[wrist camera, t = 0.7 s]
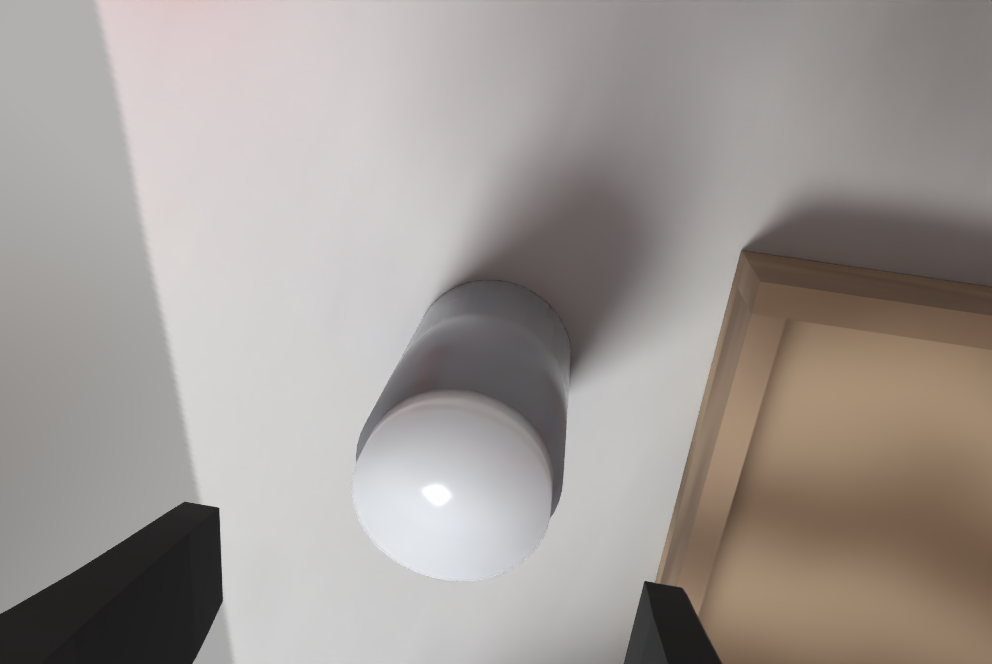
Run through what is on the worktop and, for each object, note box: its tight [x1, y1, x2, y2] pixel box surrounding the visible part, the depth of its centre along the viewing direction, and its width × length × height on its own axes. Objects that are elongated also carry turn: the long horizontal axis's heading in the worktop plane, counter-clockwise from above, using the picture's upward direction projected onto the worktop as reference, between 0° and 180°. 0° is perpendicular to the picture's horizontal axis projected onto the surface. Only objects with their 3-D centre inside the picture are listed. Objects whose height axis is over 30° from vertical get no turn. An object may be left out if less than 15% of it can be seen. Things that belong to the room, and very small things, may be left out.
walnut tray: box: [655, 251, 992, 664], centre depth 21 cm, size 16×16×2 cm
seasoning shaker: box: [352, 280, 571, 581], centre depth 18 cm, size 4×4×7 cm
